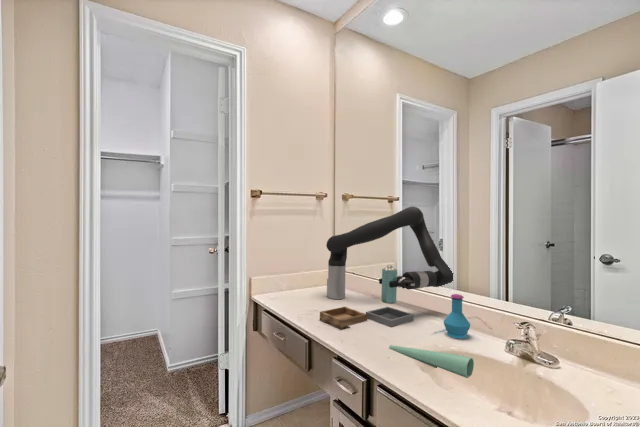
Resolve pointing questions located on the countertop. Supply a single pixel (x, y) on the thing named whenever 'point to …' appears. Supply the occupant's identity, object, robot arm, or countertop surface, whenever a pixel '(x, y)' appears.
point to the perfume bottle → (456, 319)
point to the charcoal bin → (390, 316)
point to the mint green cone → (440, 360)
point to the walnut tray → (342, 317)
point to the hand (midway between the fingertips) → (384, 283)
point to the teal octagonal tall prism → (387, 292)
